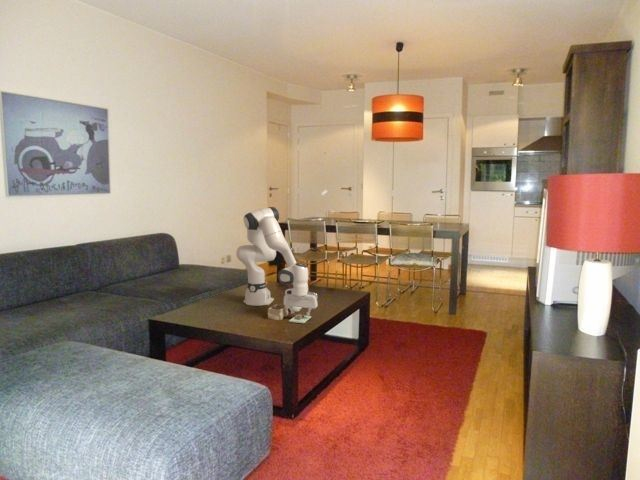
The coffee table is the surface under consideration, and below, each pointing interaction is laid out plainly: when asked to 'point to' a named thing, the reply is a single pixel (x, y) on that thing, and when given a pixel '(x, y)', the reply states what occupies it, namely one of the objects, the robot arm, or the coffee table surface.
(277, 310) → the box
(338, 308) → the coffee table surface
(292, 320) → the lid
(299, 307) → the lidded jar
